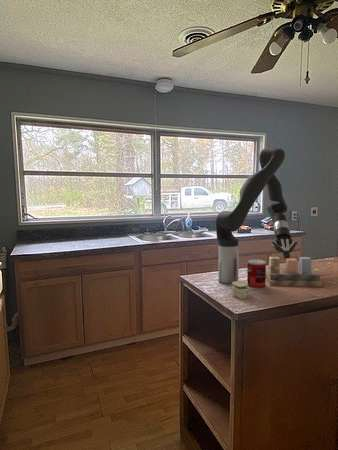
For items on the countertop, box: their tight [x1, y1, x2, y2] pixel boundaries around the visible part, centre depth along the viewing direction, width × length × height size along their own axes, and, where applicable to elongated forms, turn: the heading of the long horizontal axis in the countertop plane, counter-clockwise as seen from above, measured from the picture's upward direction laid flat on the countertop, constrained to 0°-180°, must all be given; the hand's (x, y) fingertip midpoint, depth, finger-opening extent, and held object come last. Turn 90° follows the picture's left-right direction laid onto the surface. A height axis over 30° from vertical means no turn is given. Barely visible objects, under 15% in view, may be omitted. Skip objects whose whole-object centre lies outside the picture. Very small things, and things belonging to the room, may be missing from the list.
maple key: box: [268, 256, 281, 274], centre depth 135 cm, size 4×4×8 cm
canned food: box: [246, 259, 267, 289], centre depth 126 cm, size 8×8×11 cm
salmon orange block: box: [285, 258, 299, 274], centre depth 131 cm, size 4×4×8 cm
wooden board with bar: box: [266, 271, 324, 288], centre depth 132 cm, size 22×16×4 cm
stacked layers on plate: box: [231, 280, 249, 300], centre depth 114 cm, size 10×9×6 cm
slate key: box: [298, 256, 312, 274], centre depth 133 cm, size 4×4×8 cm
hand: (287, 258), depth 139 cm, fingers closed
